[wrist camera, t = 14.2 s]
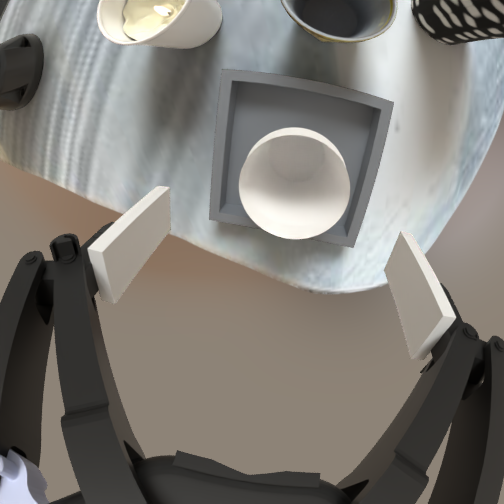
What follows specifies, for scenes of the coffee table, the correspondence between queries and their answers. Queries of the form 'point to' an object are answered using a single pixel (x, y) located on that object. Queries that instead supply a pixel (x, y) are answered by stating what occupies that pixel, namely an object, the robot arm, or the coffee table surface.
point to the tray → (301, 116)
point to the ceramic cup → (342, 18)
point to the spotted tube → (460, 19)
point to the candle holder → (159, 22)
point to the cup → (294, 183)
